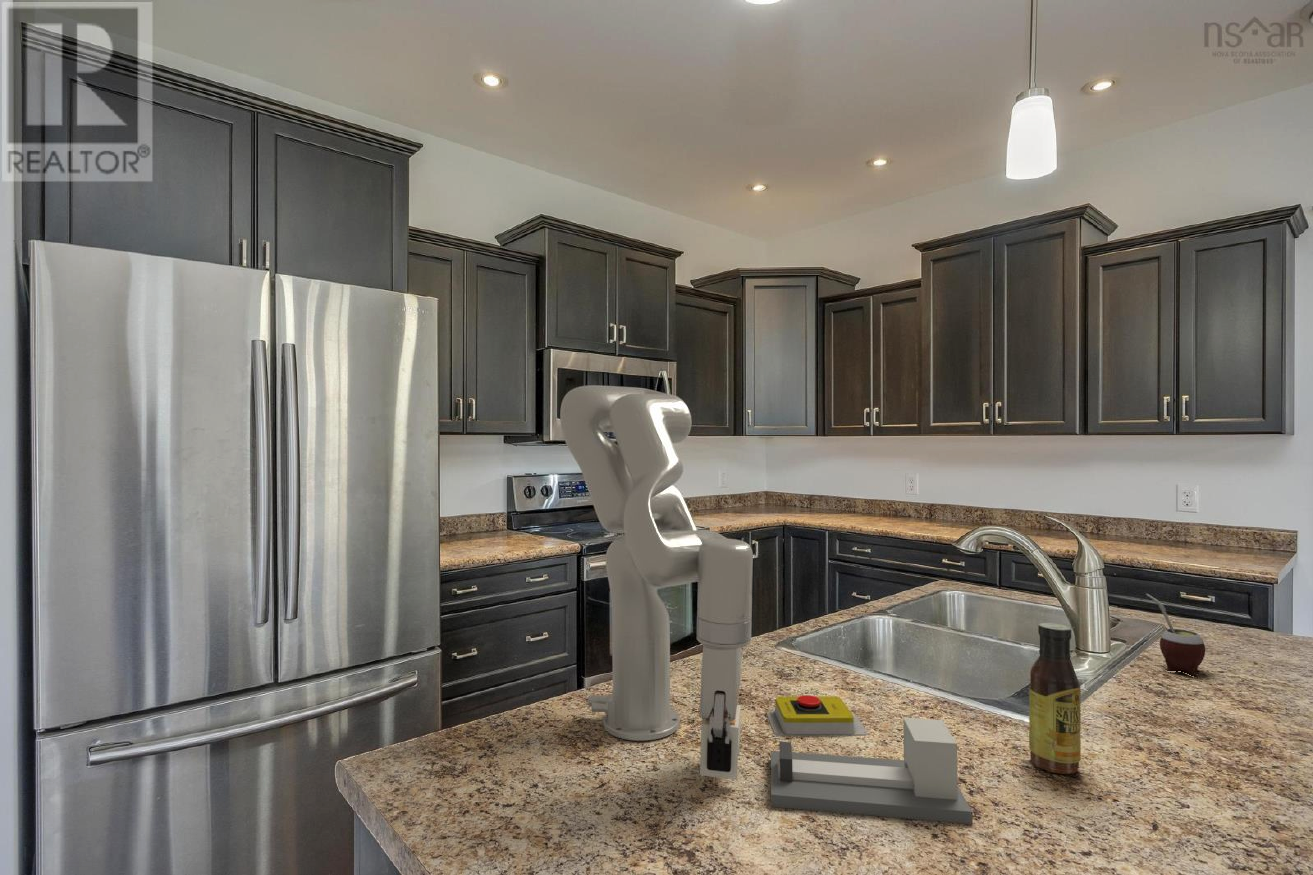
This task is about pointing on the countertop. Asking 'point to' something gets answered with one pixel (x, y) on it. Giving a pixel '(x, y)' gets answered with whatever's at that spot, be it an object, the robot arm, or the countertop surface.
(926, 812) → the rail board
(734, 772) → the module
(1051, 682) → the sauce bottle
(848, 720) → the emergency button
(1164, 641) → the mate gourd
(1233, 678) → the countertop surface
